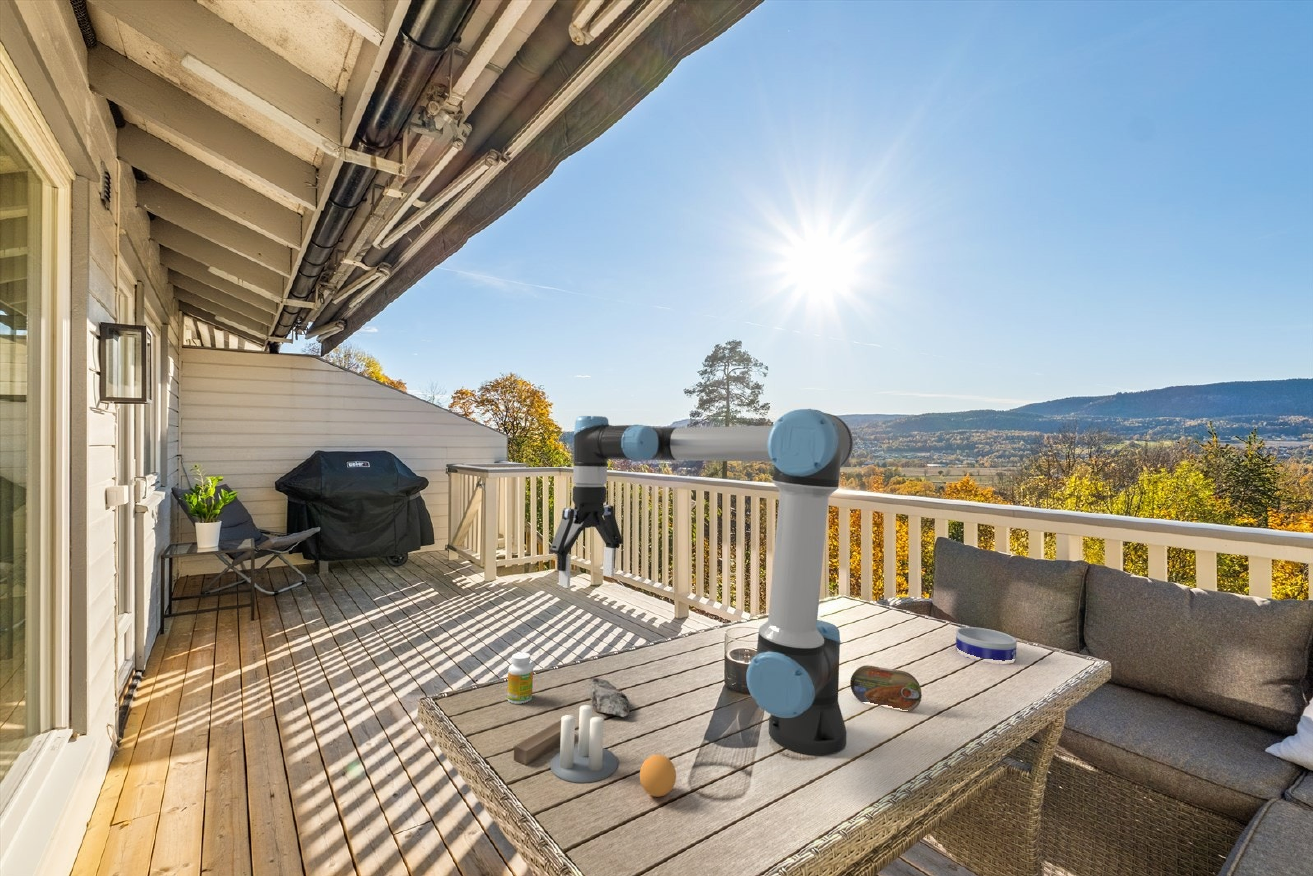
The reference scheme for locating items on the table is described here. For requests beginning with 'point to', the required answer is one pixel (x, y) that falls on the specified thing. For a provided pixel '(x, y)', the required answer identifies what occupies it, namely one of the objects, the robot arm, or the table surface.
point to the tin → (886, 687)
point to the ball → (657, 775)
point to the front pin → (596, 743)
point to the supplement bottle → (520, 679)
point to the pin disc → (584, 768)
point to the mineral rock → (607, 698)
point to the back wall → (538, 744)
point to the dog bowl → (986, 643)
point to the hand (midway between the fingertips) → (587, 581)
